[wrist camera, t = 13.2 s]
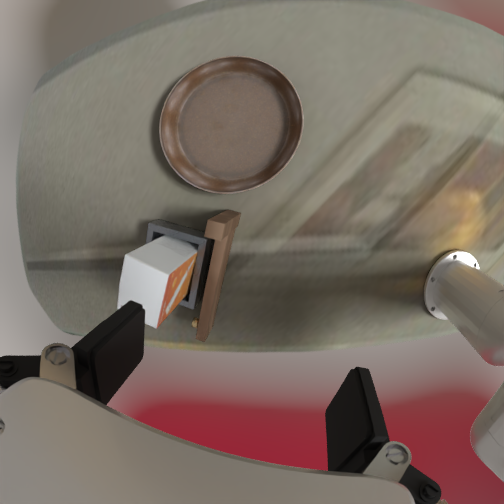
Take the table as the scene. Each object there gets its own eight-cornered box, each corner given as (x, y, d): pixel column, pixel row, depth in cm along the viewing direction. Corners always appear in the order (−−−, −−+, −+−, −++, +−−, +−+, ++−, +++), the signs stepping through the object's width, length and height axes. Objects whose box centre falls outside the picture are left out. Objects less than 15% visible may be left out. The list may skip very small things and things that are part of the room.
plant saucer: (145, 152, 40) (135, 151, 36) (212, 46, 33) (206, 37, 30) (253, 219, 40) (250, 222, 37) (329, 103, 34) (332, 97, 31)
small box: (191, 290, 44) (156, 330, 31) (157, 275, 44) (115, 309, 32) (205, 246, 41) (169, 274, 29) (168, 231, 42) (123, 253, 29)
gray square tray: (213, 234, 41) (207, 239, 38) (200, 300, 45) (193, 309, 41) (159, 219, 42) (148, 222, 39) (150, 283, 45) (140, 290, 42)
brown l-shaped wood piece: (241, 213, 40) (224, 224, 30) (214, 326, 46) (196, 361, 36) (221, 207, 40) (199, 217, 30) (198, 321, 46) (177, 354, 36)
